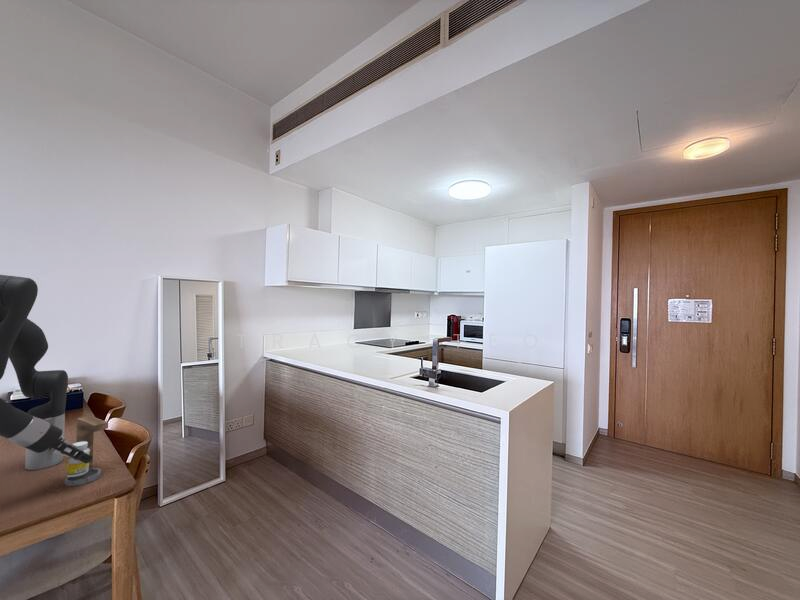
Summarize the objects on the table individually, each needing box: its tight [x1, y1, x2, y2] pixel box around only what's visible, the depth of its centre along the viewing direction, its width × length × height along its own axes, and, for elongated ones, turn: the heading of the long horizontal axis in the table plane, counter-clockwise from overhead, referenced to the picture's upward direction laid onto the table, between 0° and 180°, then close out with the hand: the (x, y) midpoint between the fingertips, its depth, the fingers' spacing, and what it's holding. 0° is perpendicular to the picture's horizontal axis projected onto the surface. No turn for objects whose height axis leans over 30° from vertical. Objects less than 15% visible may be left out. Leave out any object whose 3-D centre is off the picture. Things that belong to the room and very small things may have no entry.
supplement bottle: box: [65, 441, 90, 477], centre depth 107 cm, size 5×5×10 cm
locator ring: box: [64, 467, 102, 487], centre depth 108 cm, size 8×8×2 cm
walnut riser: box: [75, 415, 109, 469], centre depth 111 cm, size 4×13×18 cm, turn 63°
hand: (85, 458), depth 108 cm, fingers closed on supplement bottle, 5 cm apart
